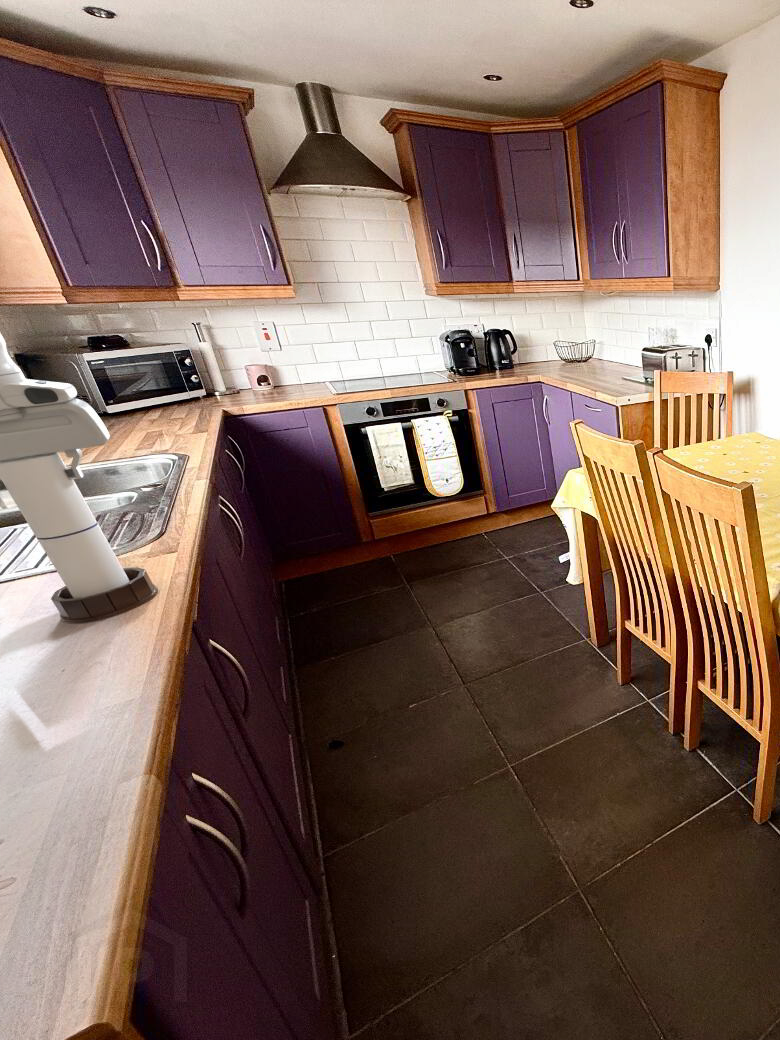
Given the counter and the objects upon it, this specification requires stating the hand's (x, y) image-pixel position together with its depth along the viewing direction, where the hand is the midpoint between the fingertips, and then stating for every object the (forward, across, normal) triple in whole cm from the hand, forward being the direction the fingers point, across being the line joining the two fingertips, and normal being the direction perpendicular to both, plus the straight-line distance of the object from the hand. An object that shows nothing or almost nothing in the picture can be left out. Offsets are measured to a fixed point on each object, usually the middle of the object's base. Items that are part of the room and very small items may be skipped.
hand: (40, 484), depth 92 cm
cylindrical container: (+21, 0, 0) cm, 21 cm away
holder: (+22, 0, 0) cm, 22 cm away
